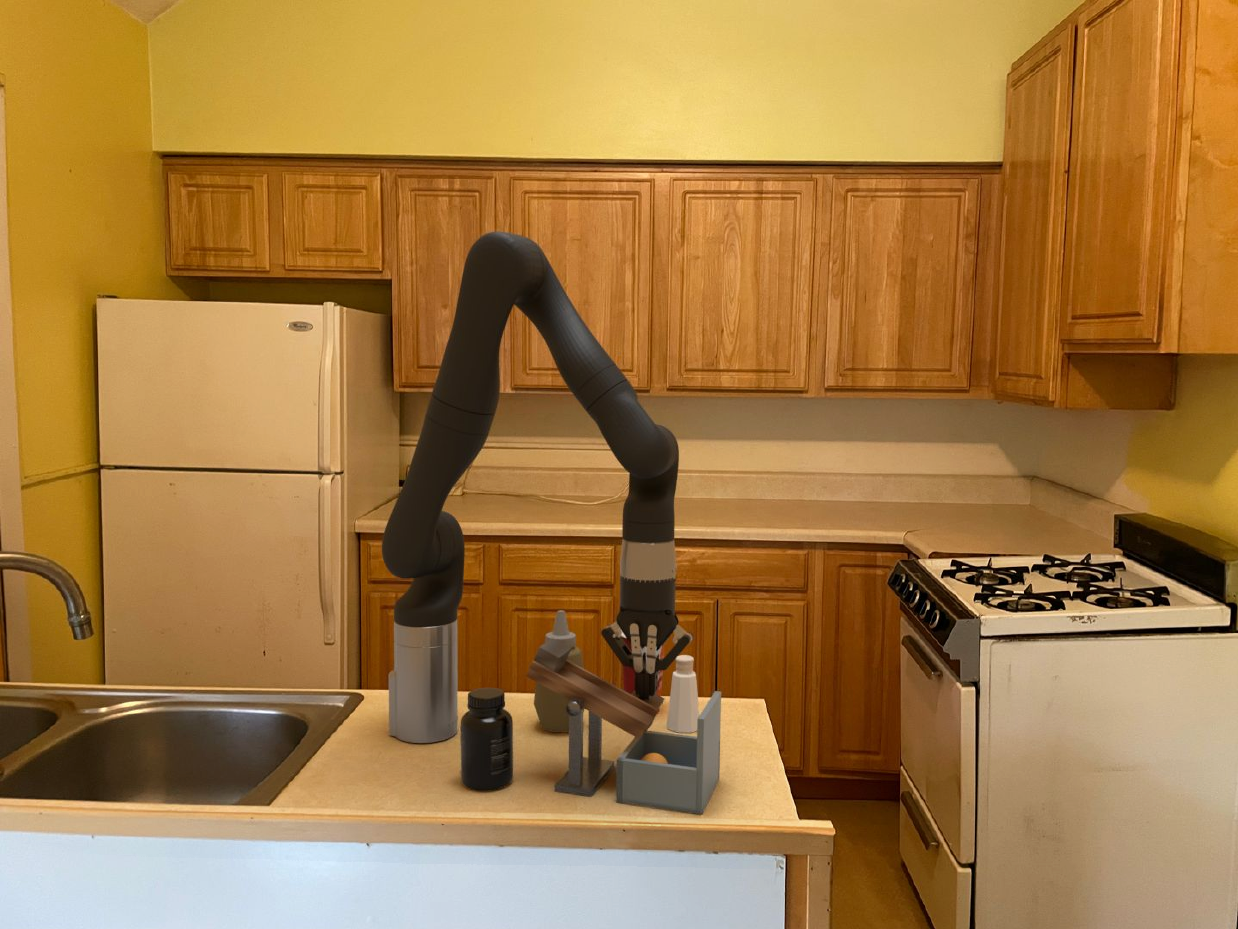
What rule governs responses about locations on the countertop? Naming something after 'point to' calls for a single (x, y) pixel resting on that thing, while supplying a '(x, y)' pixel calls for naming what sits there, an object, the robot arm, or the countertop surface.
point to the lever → (592, 690)
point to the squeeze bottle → (548, 701)
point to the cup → (673, 766)
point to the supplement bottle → (486, 741)
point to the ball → (654, 758)
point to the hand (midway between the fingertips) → (646, 697)
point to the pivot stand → (582, 770)
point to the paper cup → (630, 674)
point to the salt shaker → (683, 697)
